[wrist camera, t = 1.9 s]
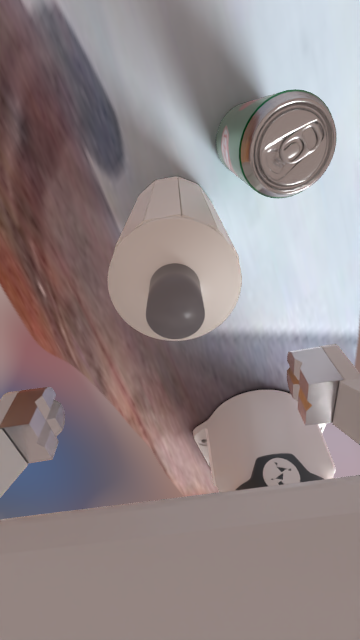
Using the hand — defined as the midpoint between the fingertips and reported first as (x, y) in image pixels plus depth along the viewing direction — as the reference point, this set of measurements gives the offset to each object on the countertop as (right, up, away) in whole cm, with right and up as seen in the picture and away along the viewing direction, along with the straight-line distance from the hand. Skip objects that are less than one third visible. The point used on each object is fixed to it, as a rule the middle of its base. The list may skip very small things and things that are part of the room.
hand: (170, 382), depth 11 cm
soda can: (+6, +17, +15) cm, 24 cm away
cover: (0, +12, +18) cm, 22 cm away
